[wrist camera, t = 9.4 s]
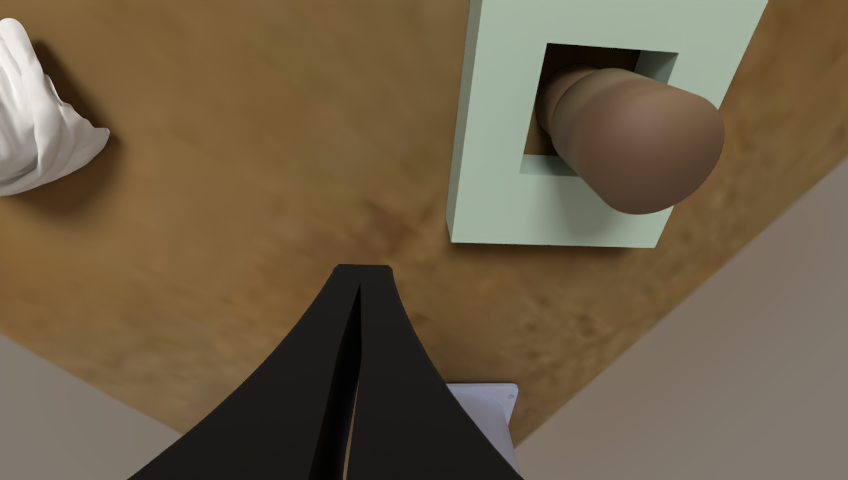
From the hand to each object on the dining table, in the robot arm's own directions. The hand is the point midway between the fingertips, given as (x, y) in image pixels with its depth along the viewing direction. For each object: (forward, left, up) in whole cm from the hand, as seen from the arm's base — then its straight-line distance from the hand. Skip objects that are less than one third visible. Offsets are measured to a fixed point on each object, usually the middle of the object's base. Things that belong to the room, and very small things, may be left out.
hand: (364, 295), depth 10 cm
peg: (+3, -9, -10) cm, 13 cm away
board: (+3, -9, -10) cm, 13 cm away
